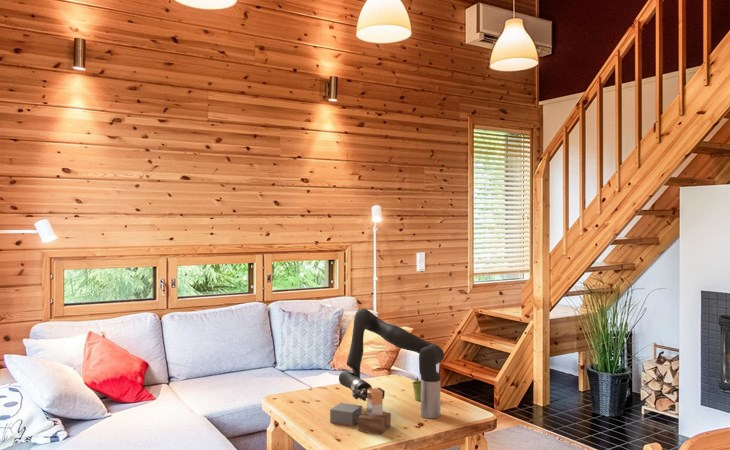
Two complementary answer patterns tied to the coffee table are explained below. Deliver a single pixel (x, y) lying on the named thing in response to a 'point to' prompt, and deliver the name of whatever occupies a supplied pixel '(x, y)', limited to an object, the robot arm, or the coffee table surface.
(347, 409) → the stand
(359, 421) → the stand
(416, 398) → the plant pot
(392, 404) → the coffee table surface
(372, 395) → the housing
